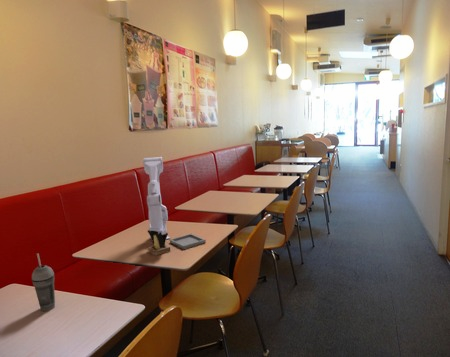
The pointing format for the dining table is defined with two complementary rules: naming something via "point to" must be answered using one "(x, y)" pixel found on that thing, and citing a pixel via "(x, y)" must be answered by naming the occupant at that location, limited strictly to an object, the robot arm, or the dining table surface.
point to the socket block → (160, 251)
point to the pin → (156, 243)
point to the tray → (187, 241)
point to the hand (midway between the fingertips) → (158, 245)
